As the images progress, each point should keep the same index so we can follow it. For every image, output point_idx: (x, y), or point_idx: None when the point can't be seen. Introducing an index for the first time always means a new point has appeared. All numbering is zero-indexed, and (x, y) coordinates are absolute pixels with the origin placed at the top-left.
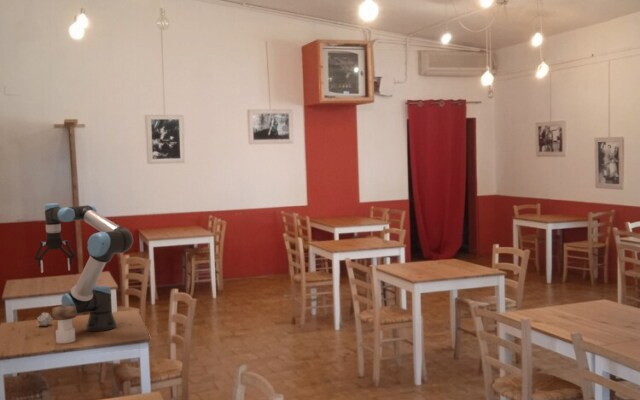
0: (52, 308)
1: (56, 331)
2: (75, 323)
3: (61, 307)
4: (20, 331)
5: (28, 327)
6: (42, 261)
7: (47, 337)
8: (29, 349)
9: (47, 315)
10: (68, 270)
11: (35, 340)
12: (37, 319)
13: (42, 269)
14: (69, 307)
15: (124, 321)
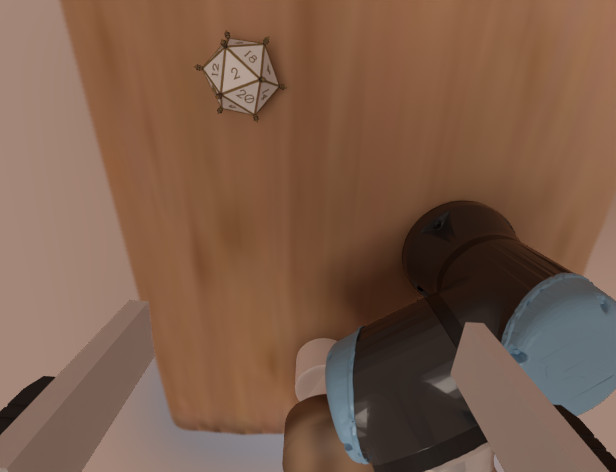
0: (283, 457)
1: (297, 396)
2: (378, 98)
3: (320, 455)
4: (154, 136)
5: (175, 65)
6: (42, 460)
7: (268, 291)
8: (226, 398)
9: (254, 96)
10: (453, 375)
11: (232, 311)
12: (207, 78)
13: (133, 387)
14: (351, 469)
15: (565, 177)
